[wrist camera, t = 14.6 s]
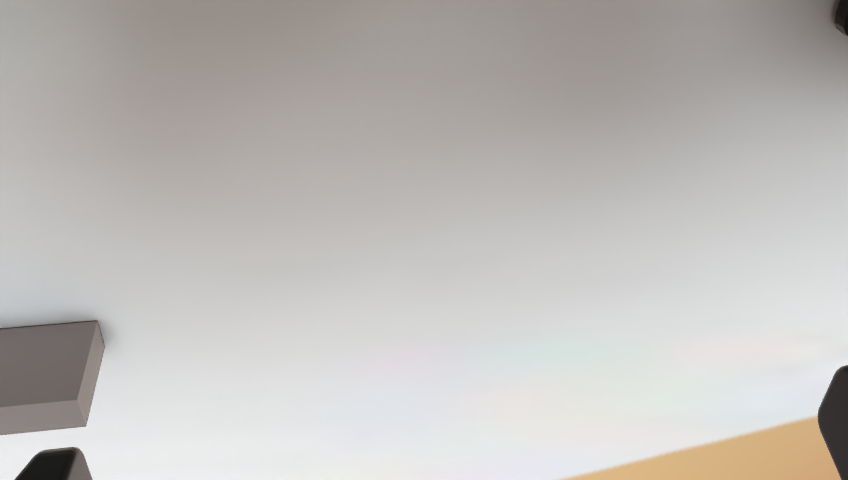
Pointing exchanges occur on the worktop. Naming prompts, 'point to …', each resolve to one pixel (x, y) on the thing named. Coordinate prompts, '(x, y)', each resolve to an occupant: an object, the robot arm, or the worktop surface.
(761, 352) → the worktop surface
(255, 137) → the worktop surface
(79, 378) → the printer bay
